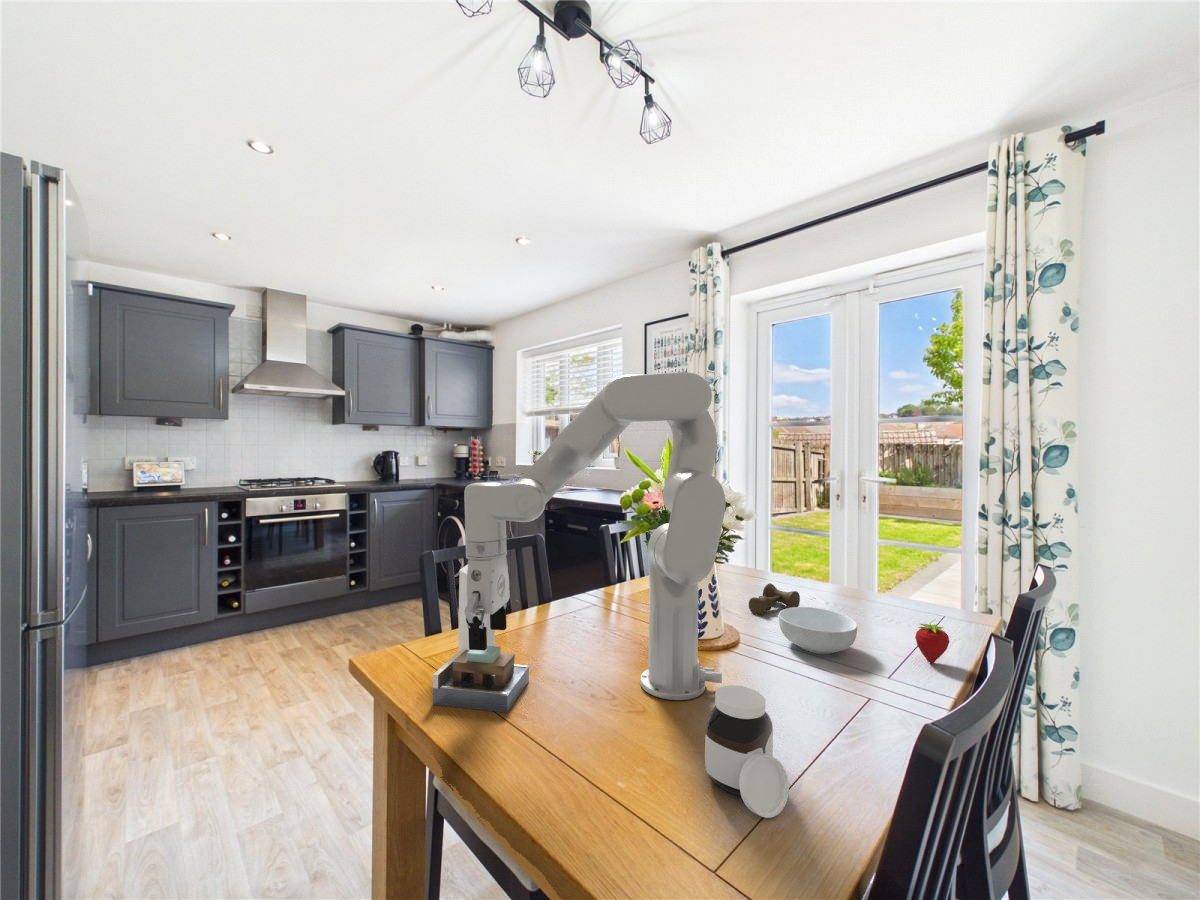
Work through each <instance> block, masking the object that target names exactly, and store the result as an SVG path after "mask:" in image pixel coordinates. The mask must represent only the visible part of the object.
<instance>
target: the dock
mask: <svg viewBox="0 0 1200 900" xmlns="http://www.w3.org/2000/svg"><path fill="white" fill-rule="evenodd" d="M465 650H467V648H462V649H461V650H460V651H459V652H456V654H455V655H453V656H452V657H451V658H450V659H448V661H446V663H444V664H443V665H442V666H440V668H438V669H437V671H435V672H434V673H433V674H432V705H433V706H441V707H442V706H443V707H450V708H451V707H452V708H458V709H460V708H461V709H469V710H479V711H487V712H496V713H497V712H498V713H504V714H505V713H507V714H508V712H509V711H510V710H511V708H512V706H513V705H514V704H515V702H516V701H517V699H518V698H519V696H520V695H521V693H522V692H523V691H524V690H525V687H526V686H527V685H528V683H529V681H530V665H524V664H523V665H522V664H515V663H514V673H513V674H512V675H511V677H510V678H509V679H508V681H507V682H506V683H505V684H504V686H502V685H495V675H489V676H488V677H487V679H486V680H485V681H484V682H483V683H482V684H481V683H474V673H469V674H468V675H467V676H466V677H465V678H464V679H463V680H462V681H453V661H454V660H455V659H456V658H457V657H458V656H459V655H461V654H462V653H463V652H464V651H465Z"/></svg>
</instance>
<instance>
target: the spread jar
mask: <svg viewBox="0 0 1200 900" xmlns="http://www.w3.org/2000/svg"><path fill="white" fill-rule="evenodd" d="M714 693H715V695H714V704H715V706H714V707H713V709H712V710H711V713H710V715H709V717H708V720H707V723H706V728H705V739H704V740H705V741H704V765H705V767H704V768H705V771H706V773H707V776H708V777H709V778H710V779H711V780H712V781H713V782H714V783H715V784H716V785H717V786H719V787H720V788H721V789H723V790H724V791H726V792H728V793H731V794H733V795H737V796H741V799H742V801H743V803H744V805H745V806H746V807H747V809H748V810H750V811H751V812H752V813H754V814H756V815H758V816H760V817H762V818H765V819H769V818H770V819H771V818H774V817H776V816H778V815H779V814H781V812H782V811H783V810H784V808H785V807H786V805H787V801H788V799H789V798H788V797H789V792H790V791H789V790H790V789H789V788H790V786H789V779H788V778H789V777H788V775H787V771H786V769H785V767H784V765H783V764H782V763H781V762H780V761H779V759H778V758H776V757H774V756H773V755H774V754H773V753H774V750H773V749H774V747H773V746H774V745H773V744H774V730H773V729H774V728H773V721H772V719H771V717H770V715H769V714H768V712H766V698H765V697H764V695H763V694H761V693H760V692H759V691H757V690H755V689H753V688H751V687H747V686H743V685H734V684H732V685H730V684H729V685H724V686H721V687H718V688H717V689H716V691H715V692H714Z"/></svg>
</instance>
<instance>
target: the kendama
mask: <svg viewBox="0 0 1200 900" xmlns="http://www.w3.org/2000/svg"><path fill="white" fill-rule="evenodd" d="M776 603H781V604H783V605H785V606H786V607H787V608H792V607H800V606H799V605H800V603H801V597H800V593H799V591H797V590H793V591H781V590H779V588H777V587H776V586H775V585H774V584H772V583H770V582H769V583H767V584H765V586H764V587H763V590H762V595H760V596H758V597H755V596H754V597H750V599H749V600H748V609H749V611H750V612H751V613H752V614H753V613H754V615H756V614H757V615H756V616H763V615H764V613H765V612H768V611H769V612H770V611H771V609H772V607H773V605H774V604H776Z"/></svg>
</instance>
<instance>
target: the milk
mask: <svg viewBox="0 0 1200 900" xmlns="http://www.w3.org/2000/svg"><path fill="white" fill-rule="evenodd" d="M467 570H468V563H467V564H466V565H465V566H463V567H462V568H460V569H459V577H458V578H459V580H458V581H459V583H458V584H459V585H458V586H459V587H458V640H457V641H458V645H457V647H458V649H457V651H458V652H459V651H460V650H461V649H462V648H467V650H470V649H469V630H468V628H467V622H466V615H465V608H466V606H467ZM478 610H484V609H478ZM475 616H477V617H478V618H479V620H480V619H481V615H475ZM484 627H486V628H487V646H495V639H496V638H495V637H496V636H495V635H496V634H495V633H496V632H495V631H496V630H491V629H490V614H489V613H487V617H486V621H485V625H484ZM458 652H457V653H458Z"/></svg>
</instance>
